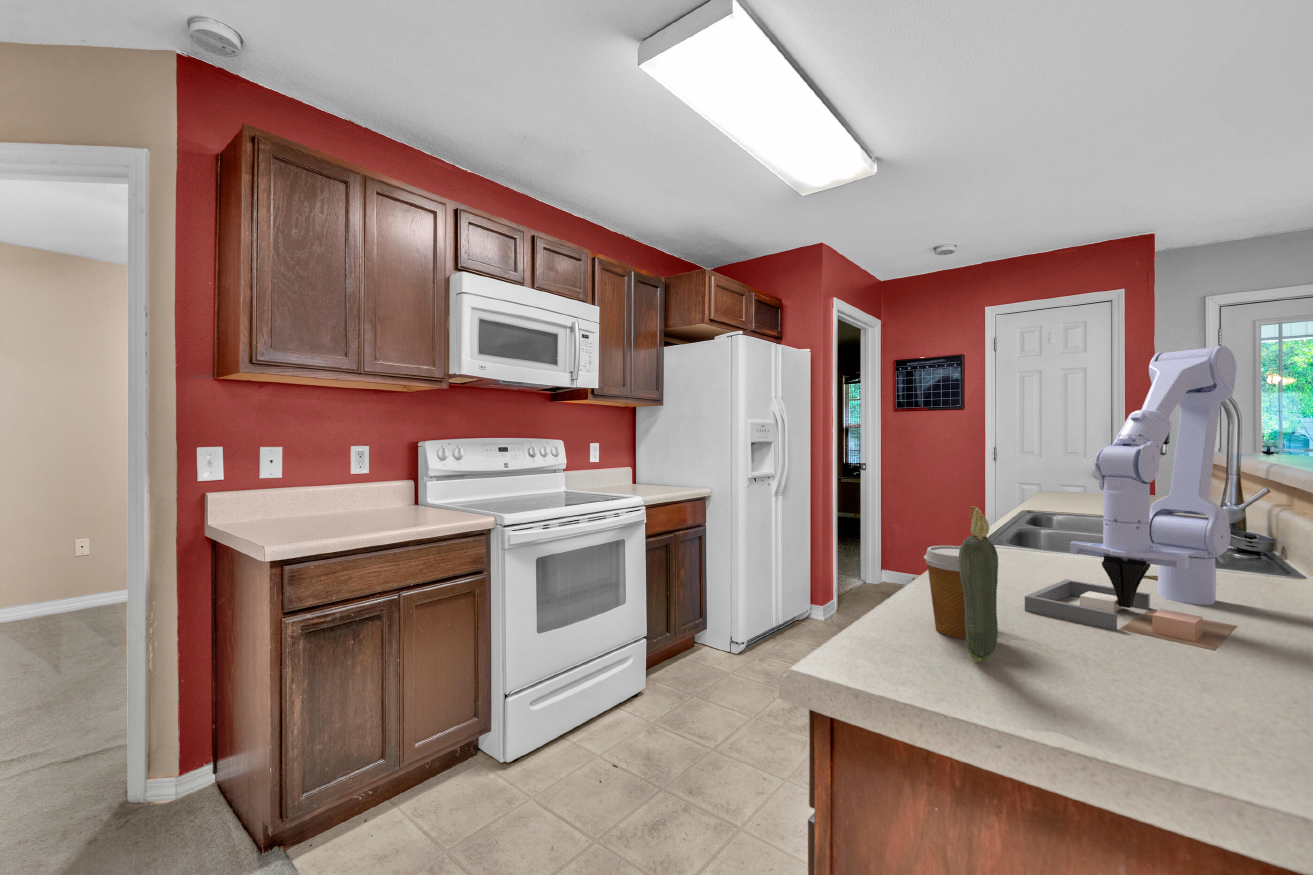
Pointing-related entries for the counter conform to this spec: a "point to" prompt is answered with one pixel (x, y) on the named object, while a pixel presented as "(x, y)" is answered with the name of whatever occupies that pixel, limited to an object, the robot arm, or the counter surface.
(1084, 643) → the counter surface
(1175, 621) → the terracotta tile
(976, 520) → the vegetable
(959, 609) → the disposable coffee cup
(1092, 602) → the cream tile
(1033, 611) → the tray
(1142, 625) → the walnut plate
